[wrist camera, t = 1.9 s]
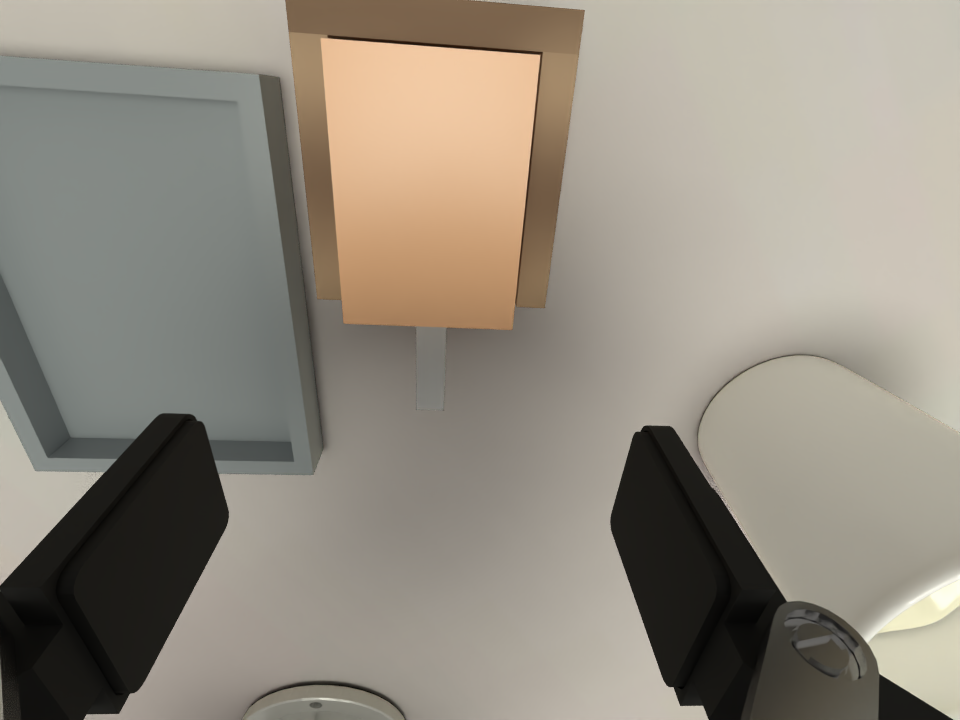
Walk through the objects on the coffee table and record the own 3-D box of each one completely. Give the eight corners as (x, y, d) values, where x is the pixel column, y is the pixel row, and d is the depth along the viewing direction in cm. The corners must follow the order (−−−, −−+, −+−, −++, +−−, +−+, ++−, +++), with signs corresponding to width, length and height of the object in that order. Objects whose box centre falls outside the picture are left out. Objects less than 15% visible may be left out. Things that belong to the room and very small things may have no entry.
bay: (527, 269, 21) (544, 308, 17) (344, 260, 20) (317, 299, 16) (553, 32, 17) (584, 10, 13) (326, 14, 16) (283, -16, 12)
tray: (323, 448, 25) (313, 474, 23) (66, 443, 24) (35, 471, 22) (279, 77, 17) (258, 74, 15) (-106, 50, 16) (-176, 42, 14)
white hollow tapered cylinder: (785, 303, 22) (1092, 486, 11) (908, 395, 25) (1244, 610, 14) (643, 447, 26) (776, 687, 15) (764, 513, 28) (947, 754, 18)
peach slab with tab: (488, 345, 22) (501, 436, 16) (381, 341, 22) (352, 433, 16) (510, 73, 17) (540, 55, 11) (370, 63, 17) (320, 37, 11)
